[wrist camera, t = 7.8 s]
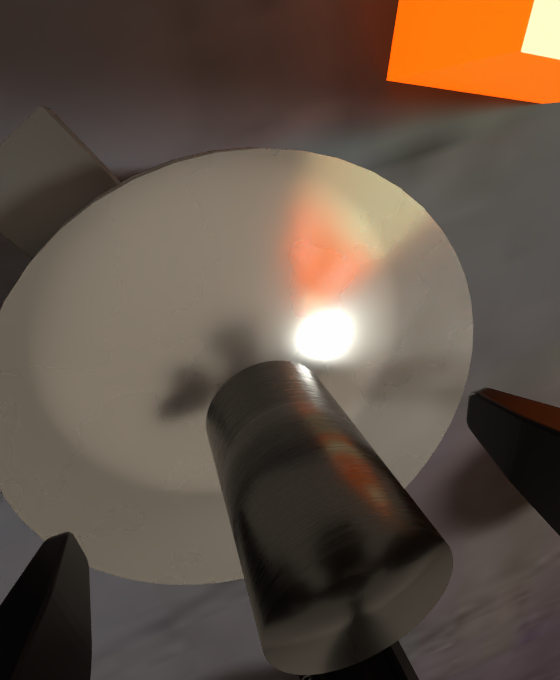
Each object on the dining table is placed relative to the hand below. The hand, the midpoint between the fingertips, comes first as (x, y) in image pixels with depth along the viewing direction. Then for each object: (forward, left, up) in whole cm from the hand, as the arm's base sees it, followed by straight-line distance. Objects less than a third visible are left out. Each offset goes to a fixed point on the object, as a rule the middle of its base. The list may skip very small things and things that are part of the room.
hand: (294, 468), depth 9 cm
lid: (0, 0, -3) cm, 3 cm away
